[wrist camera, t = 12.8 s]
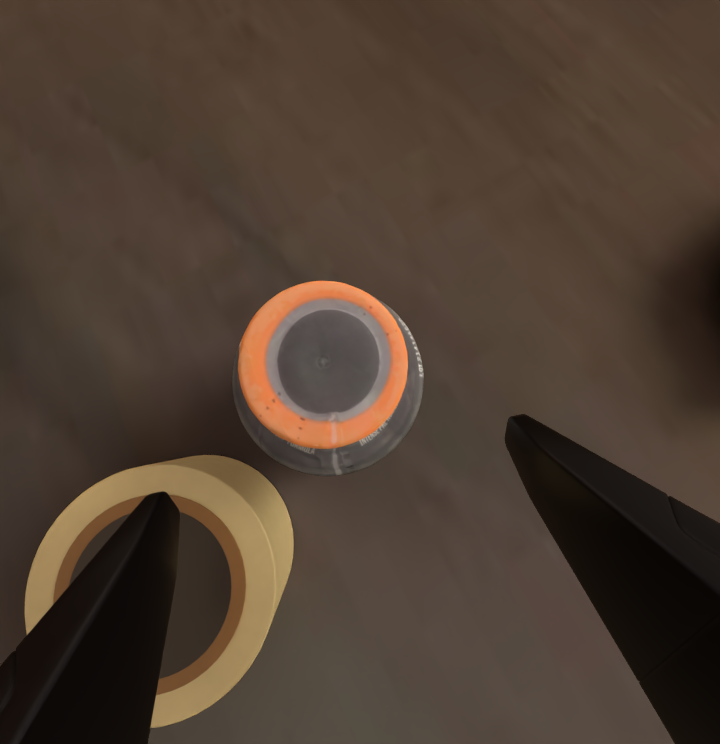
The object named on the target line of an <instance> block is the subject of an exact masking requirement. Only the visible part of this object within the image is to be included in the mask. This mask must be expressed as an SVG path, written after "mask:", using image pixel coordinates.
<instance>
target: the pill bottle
mask: <svg viewBox="0 0 720 744" xmlns="http://www.w3.org/2000/svg"><path fill="white" fill-rule="evenodd" d="M232 389H233V397H234V402H235V406H236V409H237V412H238V414H239V417H240V420H241V422H242V424H243V426H244V428H245V429H246V431H247V432H248V434H249V435H250V437H251V438H252V440H253V441H254V442H255V443H256V444H257V445H258V446H259V447H260V448H261V449H262V450H263V451H264V452H265V453H266V454H267V455H268V456H270V457H271V458H272V459H274V460H276V461H277V462H279V463H280V464H282V465H284V466H286V467H289V468H291V469H293V470H297V471H299V472H303V473H307V474H311V475H317V476H337V475H344V474H349V473H353V472H356V471H359V470H362V469H365V468H367V467H369V466H371V465H373V464H375V463H376V462H378V461H379V460H381V459H382V458H384V457H385V456H387V455H388V454H389V453H390V452H391V451H392V450H393V449H394V448H396V447H397V446H398V445H399V443H400V442H401V441H402V440H403V439H404V437H405V436H406V435H407V433H408V432H409V430H410V428H411V427H412V425H413V423H414V420H415V418H416V416H417V413H418V410H419V408H420V404H421V400H422V394H423V366H422V361H421V356H420V353H419V350H418V347H417V344H416V342H415V340H414V338H413V336H412V334H411V332H410V330H409V329H408V327H407V326H406V324H405V323H404V322H403V321H402V319H401V318H400V317H399V316H398V315H397V314H396V313H395V312H394V311H393V310H392V309H391V308H390V307H388V306H387V305H386V304H385V303H383V302H382V301H380V300H378V299H377V298H375V297H373V296H371V295H369V294H368V293H366V292H364V291H362V290H360V289H358V288H356V287H353V286H350V285H348V284H345V283H340V282H333V281H313V282H307V283H303V284H299V285H296V286H294V287H291V288H289V289H286V290H284V291H282V292H280V293H279V294H277V295H276V296H274V297H273V298H272V299H270V300H269V301H268V302H267V303H265V304H264V305H263V306H262V307H261V308H260V309H259V310H258V311H257V313H256V314H255V315H254V317H253V318H252V320H251V321H250V323H249V325H248V327H247V329H246V331H245V333H244V335H243V337H242V340H241V343H240V345H239V347H238V350H237V352H236V356H235V360H234V365H233V373H232Z"/></svg>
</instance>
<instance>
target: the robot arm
mask: <svg viewBox="0 0 720 744" xmlns="http://www.w3.org/2000/svg"><path fill="white" fill-rule="evenodd" d="M505 444H506V447H507V449H508V451H509V453H510V455H511V458H512V460H513V462H514V464H515V466H516V469H517V471H518V473H519V475H520V478H521V480H522V482H523V484H524V486H525V489H526V491H527V493H528V495H529V497H530V499H531V500H532V502H533V504H534V506H535V507H536V509H537V511H538V512H539V514H540V516H541V518H542V519H543V521H544V523H545V524H546V526H547V528H548V529H549V531H550V533H551V534H552V536H553V538H554V540H555V541H556V543H557V545H558V546H559V548H560V550H561V551H562V553H563V555H564V556H565V558H566V560H567V562H568V563H569V565H570V567H571V568H572V570H573V572H574V573H575V575H576V577H577V578H578V580H579V582H580V583H581V585H582V587H583V589H584V590H585V592H586V594H587V595H588V597H589V599H590V600H591V602H592V604H593V605H594V607H595V609H596V611H597V612H598V614H599V616H600V617H601V619H602V621H603V622H604V624H605V626H606V627H607V629H608V631H609V632H610V634H611V636H612V638H613V639H614V641H615V643H616V644H617V646H618V648H619V649H620V651H621V653H622V654H623V656H624V658H625V660H626V661H627V663H628V665H629V666H630V668H631V670H632V671H633V673H634V675H635V676H636V678H637V680H638V681H640V682H639V683H640V685H641V687H642V689H643V690H644V692H645V694H646V695H647V697H648V699H649V701H650V702H651V704H652V706H653V707H654V709H655V711H656V712H657V714H658V716H659V717H660V719H661V721H662V723H663V724H664V726H665V728H666V729H667V731H668V733H669V734H670V736H671V738H672V739H673V741H674V743H675V744H720V523H718V522H716V521H715V520H713V519H711V518H709V517H707V516H705V515H704V514H702V513H700V512H698V511H696V510H694V509H693V508H691V507H689V506H687V505H685V504H684V503H682V502H680V501H678V500H676V499H675V498H673V497H671V496H667V494H666V493H664V492H662V491H660V490H659V489H657V488H655V487H653V486H651V485H650V484H648V483H646V482H644V481H643V480H641V479H639V478H637V477H636V476H634V475H632V474H630V473H628V472H627V471H625V470H623V469H621V468H620V467H618V466H616V465H614V464H613V463H611V462H609V461H607V460H605V459H604V458H602V457H600V456H598V455H597V454H595V453H593V452H591V451H589V450H588V449H586V448H584V447H582V446H581V445H579V444H577V443H575V442H574V441H572V440H570V439H568V438H566V437H565V436H563V435H561V434H559V433H558V432H556V431H554V430H552V429H551V428H549V427H547V426H545V425H543V424H542V423H540V422H538V421H536V420H535V419H533V418H531V417H529V416H527V415H525V414H521V415H516V416H511V417H510V418H509V419H508V422H507V428H506V434H505ZM180 521H181V515H180V511H179V509H178V507H177V506H176V504H175V503H174V501H173V500H172V499H171V497H170V496H169V495H168V493H167V492H164V491H161V492H156V493H152V494H149V495H147V496H146V497H145V498H144V499H143V500H142V501H141V502H140V503H139V504H138V506H137V507H136V508H135V509H134V510H133V512H132V513H131V514H130V515H129V516H128V517H127V519H126V520H125V521H124V522H123V523H122V524H121V526H120V527H119V528H118V529H117V530H116V531H115V533H114V534H113V535H112V536H111V537H110V538H109V540H108V541H107V542H106V543H105V544H104V546H103V547H102V548H101V549H100V550H99V551H98V553H97V554H96V555H95V556H94V557H93V558H92V560H91V561H90V562H89V563H88V564H87V565H86V567H85V568H84V569H83V570H82V571H81V572H80V574H79V575H78V576H77V577H76V578H75V580H74V581H73V582H72V583H71V584H70V585H69V587H68V588H67V589H66V590H65V591H64V592H63V594H62V595H61V596H60V597H59V598H58V599H57V601H56V602H55V603H54V604H53V605H52V606H51V608H50V609H49V610H48V611H47V612H46V614H45V615H44V616H43V617H42V618H41V619H40V621H39V622H38V623H37V624H36V625H35V626H34V628H33V629H32V630H31V631H30V632H29V633H28V635H27V636H26V637H25V638H24V639H23V640H22V642H21V643H20V644H19V645H18V646H17V648H16V651H14V652H12V653H11V654H10V656H9V657H8V658H7V659H6V660H5V661H4V663H3V664H2V665H1V666H0V744H148V738H149V733H150V727H151V721H152V716H153V710H154V704H155V699H156V693H157V687H158V682H159V676H160V670H161V665H162V659H163V653H164V648H165V642H166V636H167V631H168V625H169V619H170V614H171V608H172V602H173V597H174V591H175V585H176V578H177V567H178V552H179V536H180Z"/></svg>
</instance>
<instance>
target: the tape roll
mask: <svg viewBox="0 0 720 744" xmlns="http://www.w3.org/2000/svg"><path fill="white" fill-rule="evenodd" d="M161 491H164V492H167V493H168V495H169V496H170V497H171V499H172V500H173V501H174V503H175V504H176V506H177V507H178V509H179V511H180V515H181V521H180V536H179V552H178V567H177V578H176V585H175V591H174V597H173V602H172V608H171V614H170V619H169V625H168V631H167V636H166V642H165V648H164V653H163V659H162V665H161V670H160V676H159V682H158V687H157V693H156V699H155V704H154V710H153V716H152V721H151V727H150V728H155V727H162V726H166V725H170V724H173V723H176V722H180V721H182V720H185V719H187V718H189V717H191V716H194V715H196V714H198V713H199V712H201V711H203V710H204V709H206V708H208V707H209V706H211V705H213V704H214V703H215V702H216V701H218V700H219V699H220V698H221V697H223V696H224V695H225V694H227V693H228V692H229V691H230V690H231V689H232V688H233V687H234V686H235V684H236V683H237V682H238V681H239V680H240V679H241V678H242V677H243V675H244V674H245V673H246V671H247V670H248V669H249V667H250V666H251V665H252V663H253V661H254V660H255V658H256V656H257V655H258V653H259V651H260V649H261V647H262V645H263V642H264V640H265V638H266V636H267V633H268V631H269V628H270V625H271V623H272V620H273V617H274V615H275V612H276V609H277V607H278V604H279V601H280V599H281V596H282V593H283V591H284V588H285V585H286V583H287V580H288V577H289V573H290V570H291V566H292V560H293V549H294V539H293V529H292V524H291V519H290V516H289V513H288V511H287V508H286V506H285V504H284V502H283V500H282V498H281V496H280V495H279V493H278V492H277V490H276V489H275V487H274V486H273V485H272V484H271V483H270V482H269V480H268V479H267V478H265V477H264V476H263V475H262V474H261V473H260V472H258V471H257V470H255V469H254V468H252V467H251V466H249V465H247V464H245V463H243V462H241V461H238V460H235V459H232V458H229V457H224V456H217V455H199V456H191V457H185V458H180V459H175V460H170V461H165V462H160V463H154V464H149V465H144V466H140V467H135V468H131V469H127V470H124V471H122V472H119V473H116V474H114V475H111V476H109V477H107V478H105V479H103V480H101V481H100V482H98V483H96V484H95V485H93V486H92V487H90V488H89V489H87V490H86V491H84V492H83V493H82V494H81V495H79V496H78V497H77V498H76V499H75V500H74V501H73V502H71V503H70V504H69V505H68V506H67V508H66V509H65V510H64V511H63V512H62V513H61V514H60V515H59V516H58V518H57V519H56V520H55V522H54V523H53V525H52V526H51V527H50V529H49V530H48V532H47V533H46V535H45V537H44V539H43V541H42V542H41V544H40V546H39V548H38V551H37V553H36V555H35V558H34V560H33V563H32V566H31V570H30V573H29V577H28V581H27V587H26V594H25V624H26V633H27V635H28V633H29V632H30V631H31V630H32V629H33V628H34V626H35V625H36V624H37V623H38V622H39V621H40V619H41V618H42V617H43V616H44V615H45V614H46V612H47V611H48V610H49V609H50V608H51V606H52V605H53V604H54V603H55V602H56V601H57V599H58V598H59V597H60V596H61V595H62V594H63V592H64V591H65V590H66V589H67V588H68V587H69V585H70V584H71V583H72V582H73V581H74V580H75V578H76V577H77V576H78V575H79V574H80V572H81V571H82V570H83V569H84V568H85V567H86V565H87V564H88V563H89V562H90V561H91V560H92V558H93V557H94V556H95V555H96V554H97V553H98V551H99V550H100V549H101V548H102V547H103V546H104V544H105V543H106V542H107V541H108V540H109V538H110V537H111V536H112V535H113V534H114V533H115V531H116V530H117V529H118V528H119V527H120V526H121V524H122V523H123V522H124V521H125V520H126V519H127V517H128V516H129V515H130V514H131V513H132V512H133V510H134V509H135V508H136V507H137V506H138V504H139V503H140V502H141V501H142V500H143V499H144V498H145V497H146V496H147V495H149V494H152V493H156V492H161Z"/></svg>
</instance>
